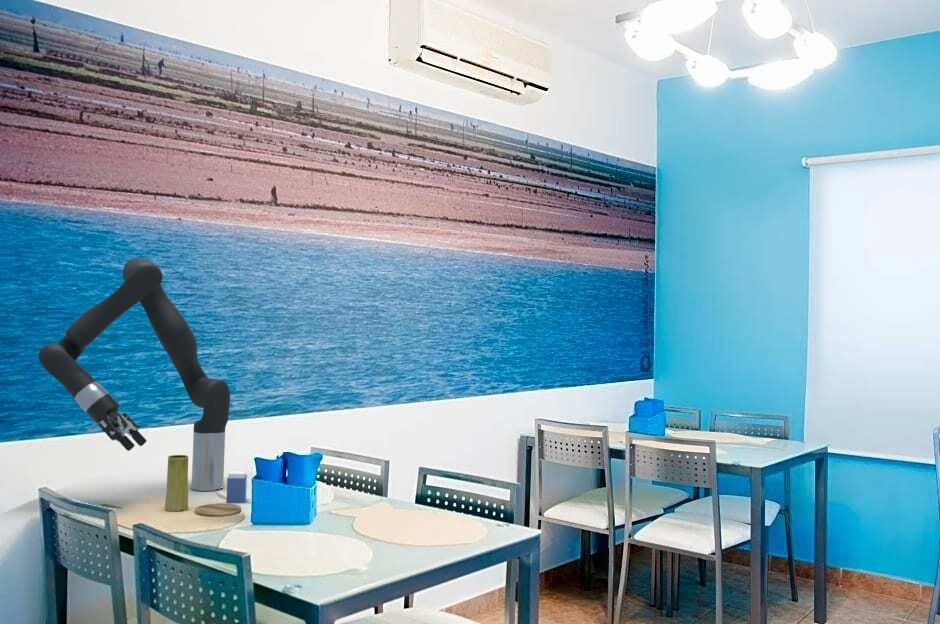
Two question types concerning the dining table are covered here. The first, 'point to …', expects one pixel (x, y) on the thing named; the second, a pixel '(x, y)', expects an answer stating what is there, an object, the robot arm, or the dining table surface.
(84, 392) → the robot arm
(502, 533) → the dining table surface
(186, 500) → the vase
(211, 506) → the disc
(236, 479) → the slate blue block
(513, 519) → the dining table surface
